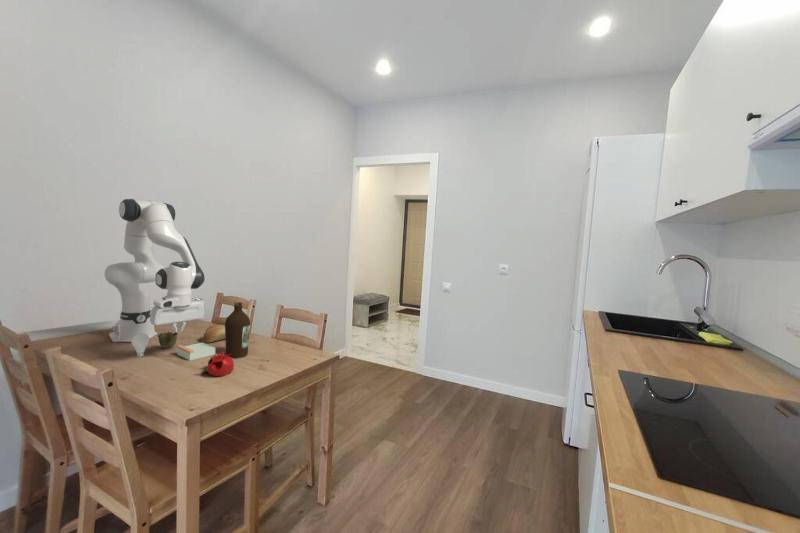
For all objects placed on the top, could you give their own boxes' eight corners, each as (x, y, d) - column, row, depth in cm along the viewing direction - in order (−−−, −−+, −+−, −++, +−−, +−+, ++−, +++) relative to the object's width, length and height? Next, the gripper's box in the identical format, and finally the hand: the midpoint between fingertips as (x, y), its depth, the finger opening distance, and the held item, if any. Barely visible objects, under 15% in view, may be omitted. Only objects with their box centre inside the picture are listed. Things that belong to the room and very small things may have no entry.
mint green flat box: (177, 354, 150) (177, 345, 150) (202, 348, 159) (202, 340, 159) (189, 360, 144) (190, 351, 144) (215, 354, 154) (215, 345, 153)
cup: (181, 348, 162) (181, 332, 161) (169, 353, 154) (169, 336, 154) (166, 346, 162) (166, 330, 162) (154, 351, 155) (154, 334, 154)
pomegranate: (224, 367, 144) (225, 345, 143) (239, 372, 139) (240, 350, 138) (201, 373, 135) (201, 351, 135) (215, 380, 130) (216, 356, 130)
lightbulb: (129, 361, 142) (129, 336, 141) (133, 356, 148) (133, 332, 147) (147, 360, 145) (148, 335, 144) (150, 355, 151) (151, 331, 150)
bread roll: (197, 342, 172) (197, 327, 171) (223, 335, 186) (223, 321, 185) (210, 345, 168) (210, 330, 168) (235, 338, 182) (236, 324, 181)
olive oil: (219, 358, 153) (221, 304, 151) (230, 350, 163) (232, 299, 161) (243, 359, 153) (245, 305, 151) (252, 351, 164) (254, 301, 162)
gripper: (200, 296, 154) (199, 325, 155) (148, 301, 137) (147, 334, 138) (208, 298, 151) (206, 328, 152) (155, 304, 134) (154, 338, 135)
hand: (178, 331), depth 145 cm, fingers closed
